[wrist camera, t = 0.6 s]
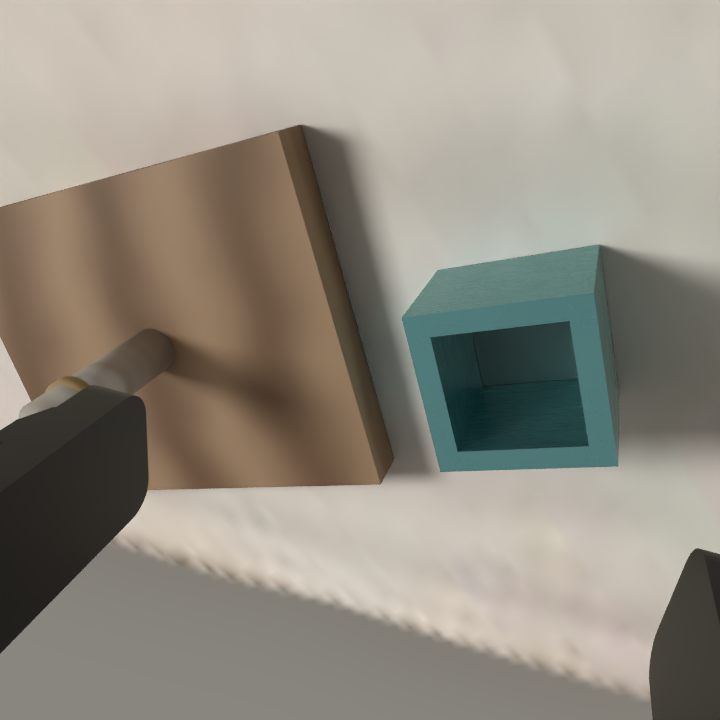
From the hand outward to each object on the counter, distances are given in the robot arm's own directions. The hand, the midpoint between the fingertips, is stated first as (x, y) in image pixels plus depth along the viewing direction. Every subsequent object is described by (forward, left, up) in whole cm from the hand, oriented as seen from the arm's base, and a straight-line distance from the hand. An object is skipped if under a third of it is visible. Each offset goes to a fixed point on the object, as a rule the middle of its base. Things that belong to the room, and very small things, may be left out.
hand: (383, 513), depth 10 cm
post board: (+17, +2, -17) cm, 24 cm away
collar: (+1, +4, -17) cm, 18 cm away
